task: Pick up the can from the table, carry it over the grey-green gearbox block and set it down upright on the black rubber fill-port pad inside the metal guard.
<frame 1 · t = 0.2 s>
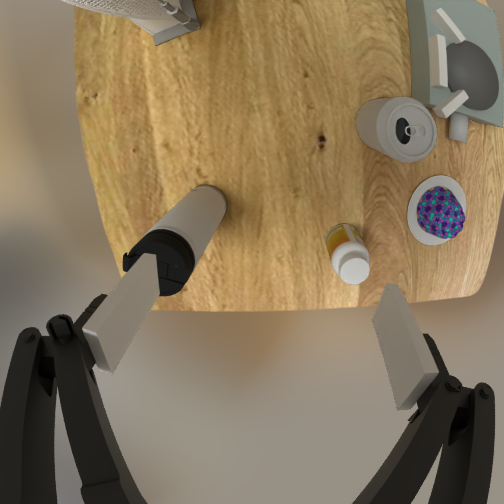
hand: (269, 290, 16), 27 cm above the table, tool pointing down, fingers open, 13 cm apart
supplement bottle: (342, 238, 43), on the table
gearbox: (448, 54, 27), on the table
can: (378, 124, 35), on the table
pudding: (436, 209, 39), on the table
skyscraper: (168, 18, 30), on the table
travel mug: (206, 203, 43), on the table
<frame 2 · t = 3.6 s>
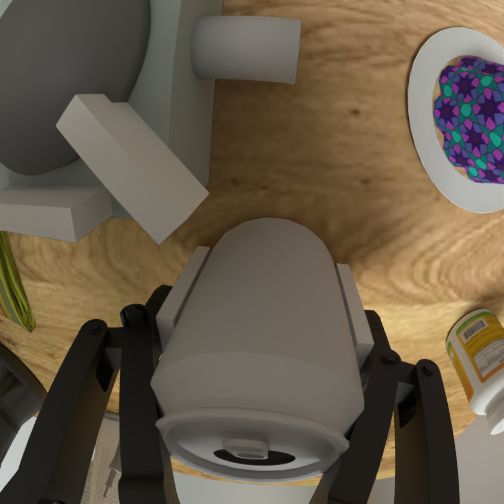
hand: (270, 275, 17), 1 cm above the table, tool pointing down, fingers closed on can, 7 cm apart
supplement bottle: (468, 329, 19), on the table
gearbox: (69, 77, 13), on the table
can: (271, 268, 18), on the table, touching gripper
pudding: (480, 119, 12), on the table
skyscraper: (127, 426, 33), on the table
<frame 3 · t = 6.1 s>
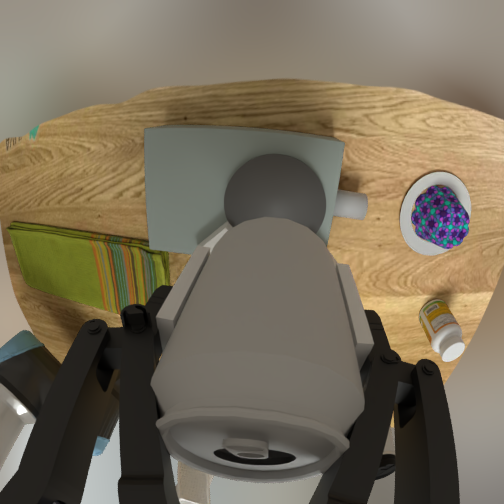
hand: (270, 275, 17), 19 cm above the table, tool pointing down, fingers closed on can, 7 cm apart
supplement bottle: (431, 310, 40), on the table
gearbox: (243, 184, 34), on the table
can: (271, 267, 18), point 18 cm above the table, touching gripper
dish towel: (82, 267, 44), on the table
pudding: (435, 213, 33), on the table
skyscraper: (217, 390, 54), on the table
travel mug: (366, 388, 50), on the table
when the fingers open (9 cm above the table, at t = 8.7 s): can drops 1 cm, resting on gearbox.
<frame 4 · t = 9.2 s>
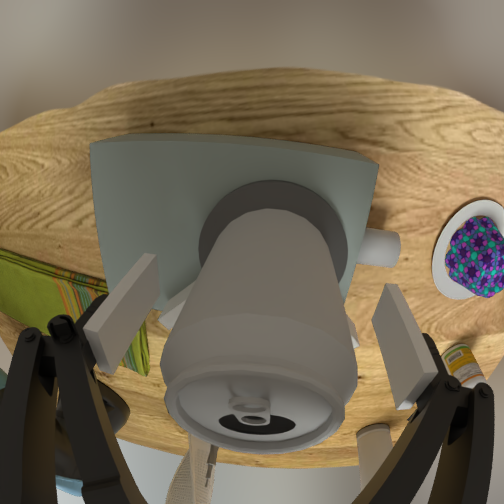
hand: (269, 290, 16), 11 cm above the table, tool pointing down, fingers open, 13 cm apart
supplement bottle: (452, 355, 31), on the table
gearbox: (230, 214, 25), on the table
can: (271, 257, 19), point 7 cm above the table, touching gearbox
dish towel: (50, 300, 35), on the table
pudding: (472, 249, 24), on the table
skyscraper: (207, 431, 45), on the table
travel mug: (372, 430, 41), on the table
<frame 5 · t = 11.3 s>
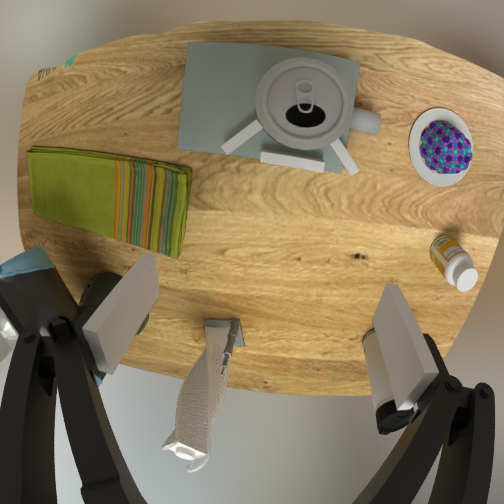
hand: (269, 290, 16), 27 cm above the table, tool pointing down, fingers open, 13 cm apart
supplement bottle: (441, 248, 40), on the table
gearbox: (269, 102, 34), on the table
can: (300, 106, 28), point 7 cm above the table, touching gearbox
dish towel: (98, 192, 45), on the table
pudding: (440, 146, 33), on the table
skyscraper: (222, 334, 55), on the table
travel mug: (376, 338, 51), on the table
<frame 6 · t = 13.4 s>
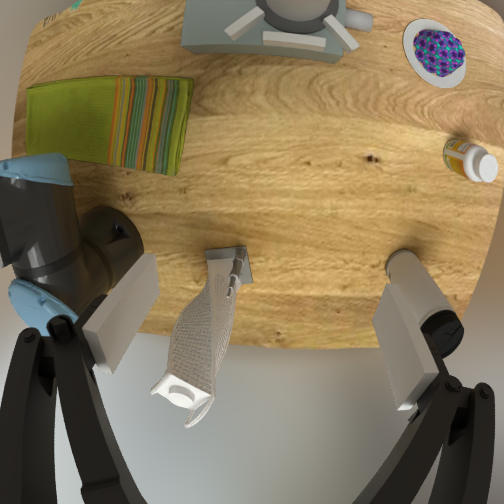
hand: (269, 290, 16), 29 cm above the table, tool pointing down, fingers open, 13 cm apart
supplement bottle: (454, 154, 35), on the table
gearbox: (267, 13, 30), on the table
dish towel: (94, 119, 40), on the table
pudding: (434, 53, 29), on the table
skyscraper: (227, 269, 50), on the table
travel mug: (400, 265, 45), on the table
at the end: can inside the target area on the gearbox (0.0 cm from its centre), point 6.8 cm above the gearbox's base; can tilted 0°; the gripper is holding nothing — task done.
